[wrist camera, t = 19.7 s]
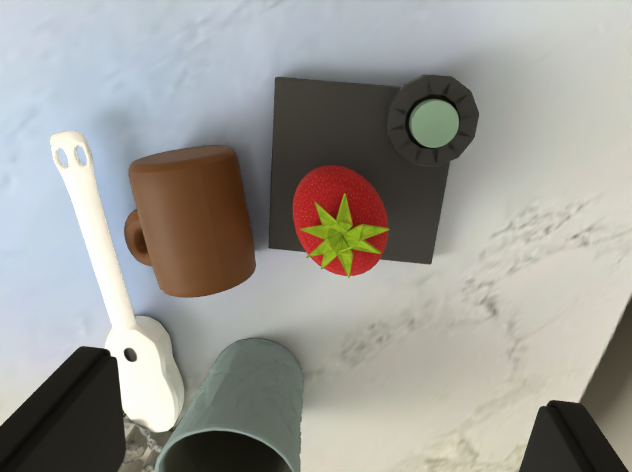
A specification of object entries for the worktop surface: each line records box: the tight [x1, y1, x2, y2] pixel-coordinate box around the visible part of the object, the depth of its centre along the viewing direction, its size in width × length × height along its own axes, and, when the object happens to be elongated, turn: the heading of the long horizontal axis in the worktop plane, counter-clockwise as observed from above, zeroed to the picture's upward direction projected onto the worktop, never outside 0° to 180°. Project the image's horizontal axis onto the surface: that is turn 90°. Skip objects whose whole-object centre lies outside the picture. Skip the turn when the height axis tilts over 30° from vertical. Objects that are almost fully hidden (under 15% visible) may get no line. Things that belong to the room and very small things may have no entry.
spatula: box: [50, 131, 184, 432], centre depth 38 cm, size 28×6×3 cm, turn 7°
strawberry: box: [293, 165, 390, 278], centre depth 29 cm, size 6×8×10 cm
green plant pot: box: [155, 339, 304, 472], centre depth 36 cm, size 10×10×12 cm
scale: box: [269, 75, 479, 264], centre depth 33 cm, size 14×14×3 cm
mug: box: [124, 146, 256, 298], centre depth 34 cm, size 12×8×9 cm
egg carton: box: [118, 415, 173, 472], centre depth 44 cm, size 11×8×4 cm
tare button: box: [409, 99, 459, 148], centre depth 29 cm, size 3×3×2 cm
